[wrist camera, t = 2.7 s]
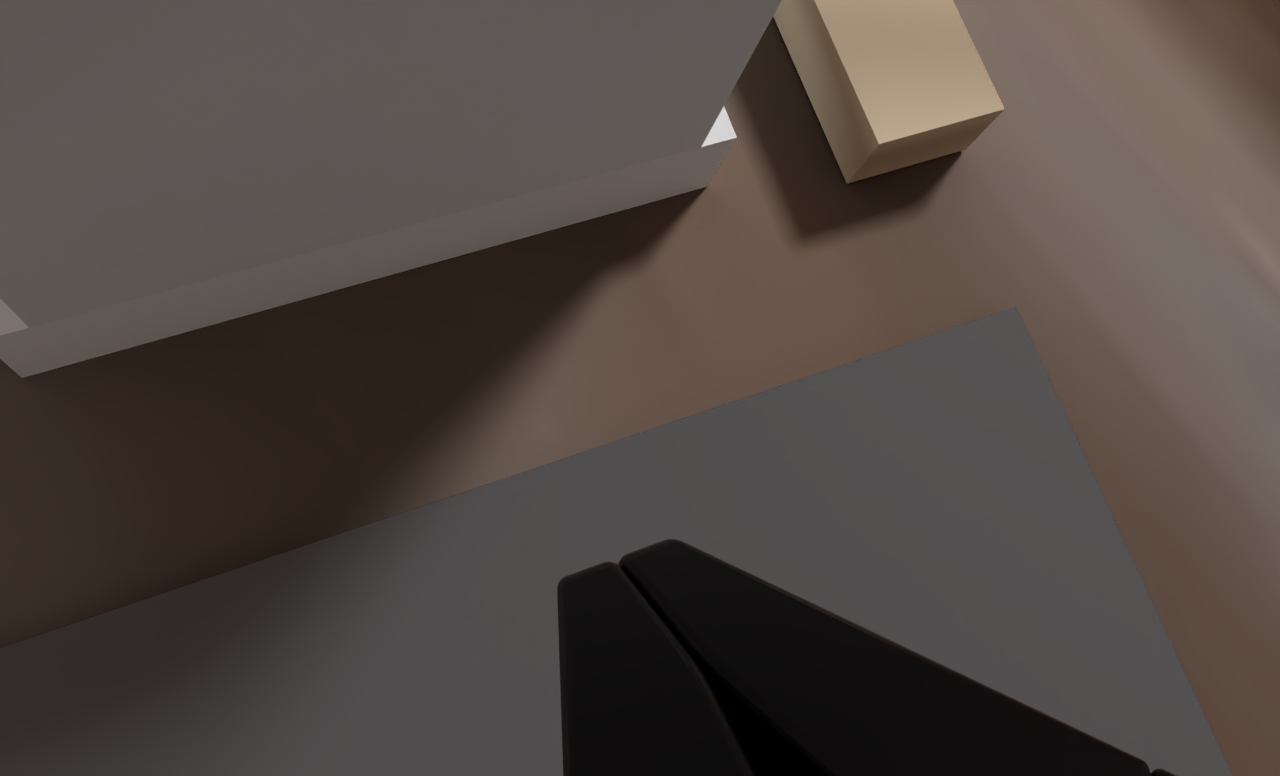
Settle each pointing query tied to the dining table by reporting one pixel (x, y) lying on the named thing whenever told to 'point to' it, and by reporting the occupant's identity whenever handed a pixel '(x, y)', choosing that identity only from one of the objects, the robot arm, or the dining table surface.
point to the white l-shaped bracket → (325, 145)
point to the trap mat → (606, 531)
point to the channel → (889, 79)
